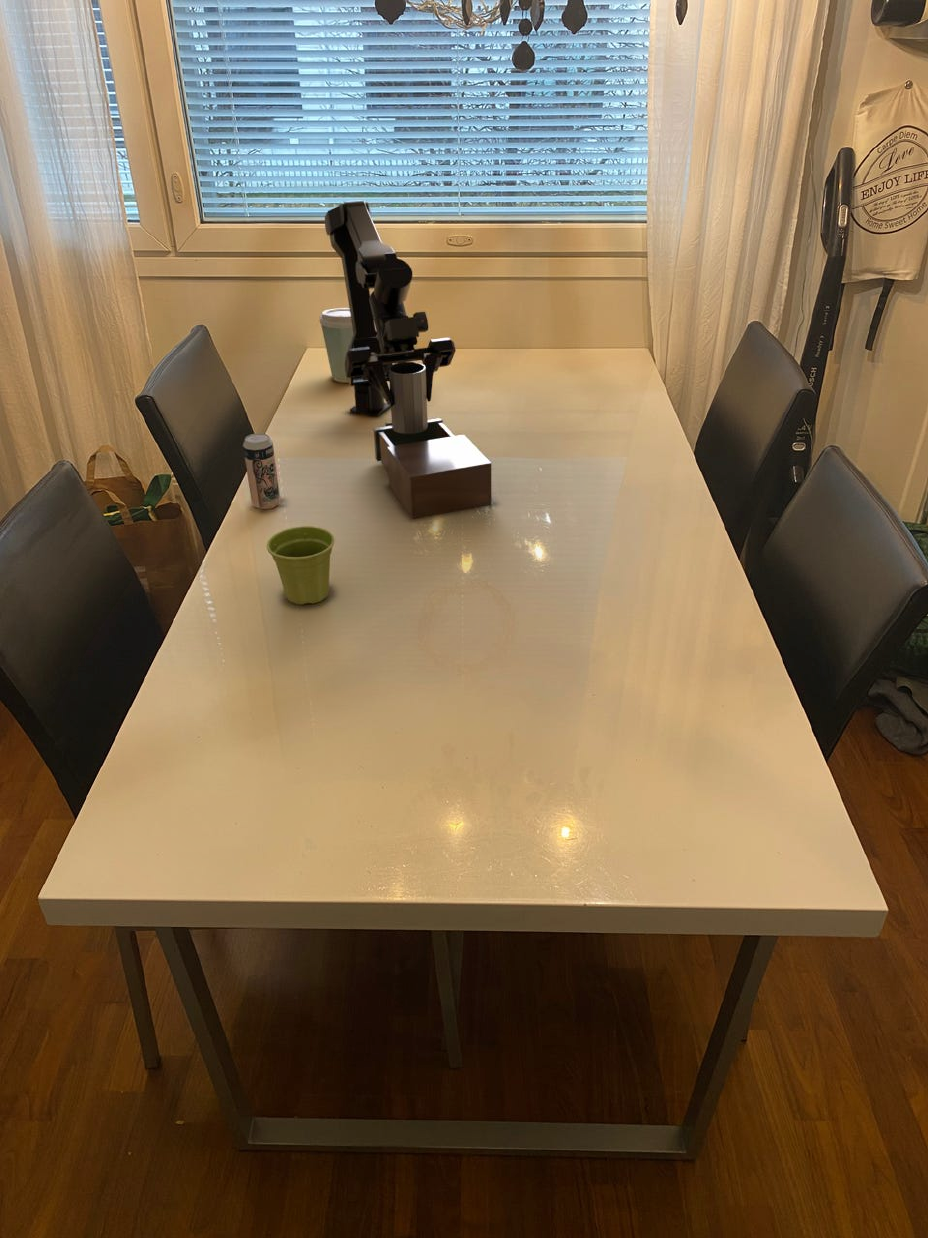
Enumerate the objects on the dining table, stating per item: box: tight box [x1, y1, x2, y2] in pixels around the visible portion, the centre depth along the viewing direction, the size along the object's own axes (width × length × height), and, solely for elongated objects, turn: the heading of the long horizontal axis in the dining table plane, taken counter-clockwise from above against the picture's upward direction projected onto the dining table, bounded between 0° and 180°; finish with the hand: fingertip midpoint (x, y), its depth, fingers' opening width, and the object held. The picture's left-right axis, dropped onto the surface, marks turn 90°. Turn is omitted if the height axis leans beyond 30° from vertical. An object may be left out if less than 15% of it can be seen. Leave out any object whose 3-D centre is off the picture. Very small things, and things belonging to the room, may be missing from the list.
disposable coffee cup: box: [318, 307, 353, 383], centre depth 211 cm, size 11×11×15 cm
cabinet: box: [387, 434, 492, 519], centre depth 162 cm, size 13×14×8 cm
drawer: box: [373, 417, 455, 474], centre depth 173 cm, size 16×13×6 cm
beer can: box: [242, 432, 281, 510], centre depth 159 cm, size 5×5×12 cm
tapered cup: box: [388, 361, 429, 434], centre depth 165 cm, size 6×6×11 cm
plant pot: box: [266, 525, 335, 605], centre depth 136 cm, size 9×9×9 cm
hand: (410, 402), depth 164 cm, fingers closed on tapered cup, 6 cm apart
